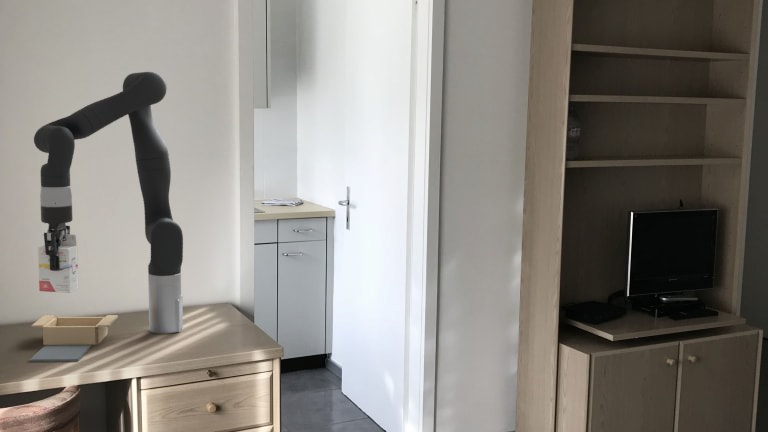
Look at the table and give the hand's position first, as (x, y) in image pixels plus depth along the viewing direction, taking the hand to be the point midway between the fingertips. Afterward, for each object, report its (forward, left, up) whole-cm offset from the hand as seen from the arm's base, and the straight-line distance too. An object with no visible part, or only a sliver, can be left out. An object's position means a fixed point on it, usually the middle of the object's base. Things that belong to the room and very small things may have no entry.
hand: (58, 267), depth 205 cm
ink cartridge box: (0, 0, -6) cm, 6 cm away
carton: (0, -14, -23) cm, 27 cm away
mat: (0, 0, -23) cm, 23 cm away
